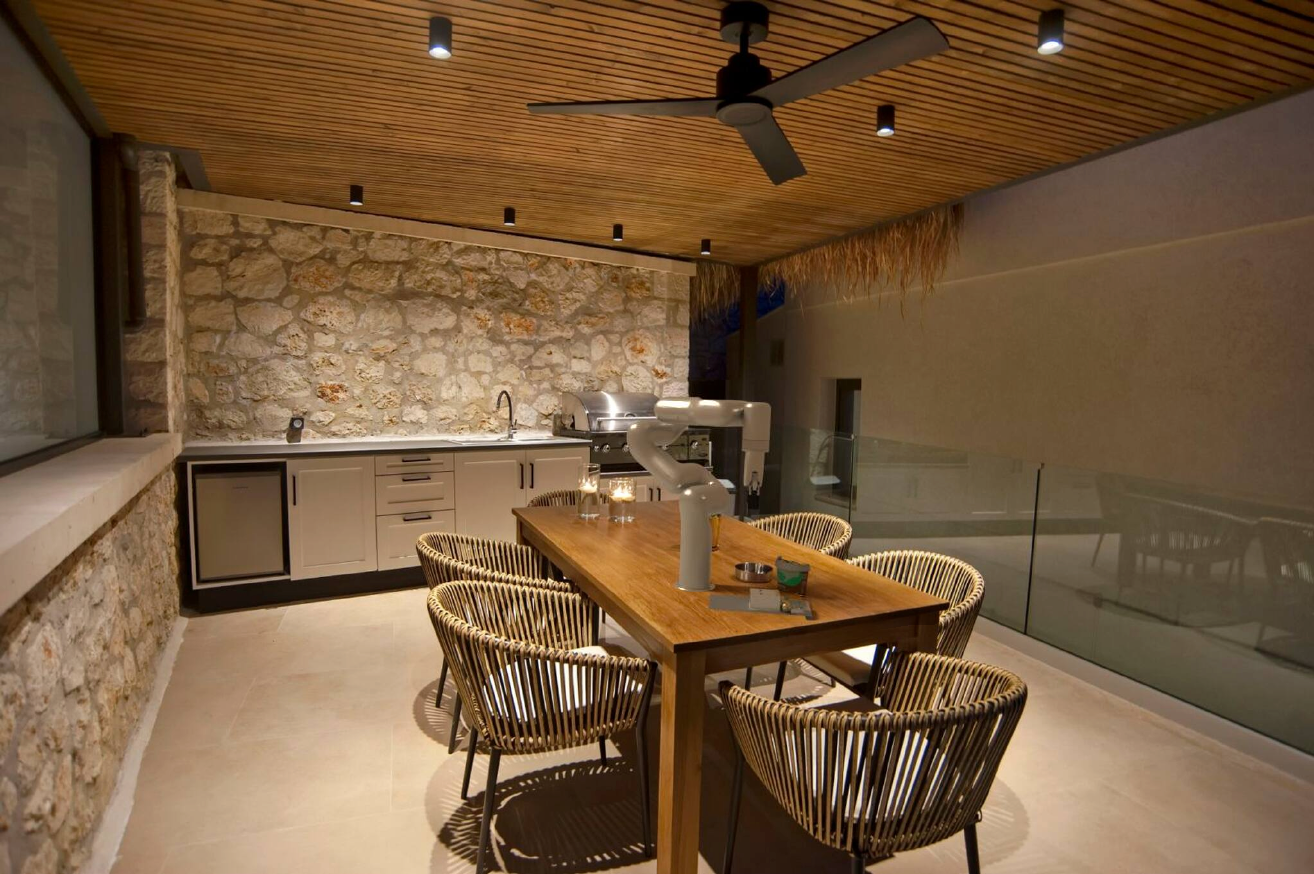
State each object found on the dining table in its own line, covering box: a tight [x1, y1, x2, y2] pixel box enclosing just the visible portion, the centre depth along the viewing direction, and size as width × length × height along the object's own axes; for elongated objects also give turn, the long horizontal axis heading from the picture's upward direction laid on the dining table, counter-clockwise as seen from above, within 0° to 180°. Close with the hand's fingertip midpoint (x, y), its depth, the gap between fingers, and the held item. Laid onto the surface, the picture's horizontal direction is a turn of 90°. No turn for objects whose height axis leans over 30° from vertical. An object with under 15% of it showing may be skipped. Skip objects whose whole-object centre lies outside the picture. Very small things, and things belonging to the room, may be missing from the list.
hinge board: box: [707, 593, 813, 621], centre depth 198 cm, size 14×28×1 cm, turn 84°
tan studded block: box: [749, 588, 781, 611], centre depth 196 cm, size 6×8×4 cm
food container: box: [774, 555, 811, 597], centre depth 214 cm, size 12×6×10 cm, turn 37°
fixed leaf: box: [780, 595, 812, 615], centre depth 195 cm, size 10×8×2 cm
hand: (752, 506), depth 200 cm, fingers open, 9 cm apart
